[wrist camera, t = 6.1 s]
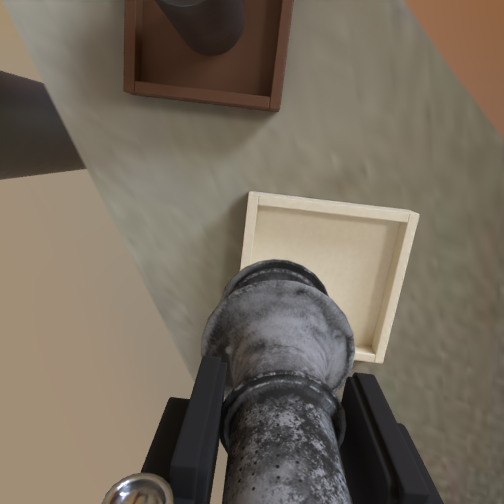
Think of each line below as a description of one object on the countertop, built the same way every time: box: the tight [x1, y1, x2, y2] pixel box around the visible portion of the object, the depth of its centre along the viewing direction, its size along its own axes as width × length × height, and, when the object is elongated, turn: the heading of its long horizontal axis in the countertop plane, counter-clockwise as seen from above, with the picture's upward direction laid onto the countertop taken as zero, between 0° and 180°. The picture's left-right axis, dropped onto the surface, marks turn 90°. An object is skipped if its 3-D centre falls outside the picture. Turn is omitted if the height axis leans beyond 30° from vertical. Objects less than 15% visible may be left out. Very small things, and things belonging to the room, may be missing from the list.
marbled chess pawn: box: [201, 259, 355, 504], centre depth 11 cm, size 6×6×12 cm
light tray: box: [240, 191, 419, 363], centre depth 31 cm, size 14×14×2 cm
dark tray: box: [124, 0, 294, 112], centre depth 26 cm, size 12×12×2 cm
